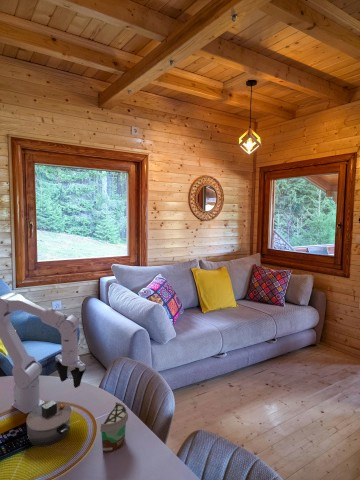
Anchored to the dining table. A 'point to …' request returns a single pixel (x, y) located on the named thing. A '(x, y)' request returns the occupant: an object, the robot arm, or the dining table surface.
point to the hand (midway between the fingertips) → (70, 383)
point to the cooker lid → (48, 416)
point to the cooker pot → (48, 435)
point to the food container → (114, 429)
